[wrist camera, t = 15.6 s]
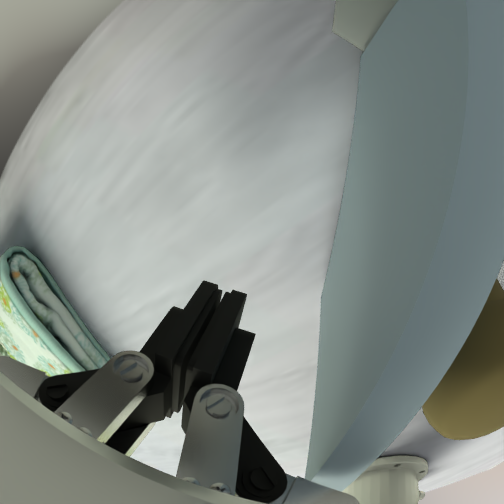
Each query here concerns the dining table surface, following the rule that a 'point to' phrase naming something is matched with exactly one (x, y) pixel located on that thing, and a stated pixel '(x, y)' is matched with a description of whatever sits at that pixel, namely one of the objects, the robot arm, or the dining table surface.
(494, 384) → the cork
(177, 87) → the dining table surface
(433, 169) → the door
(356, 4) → the door frame
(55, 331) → the towel
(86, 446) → the robot arm
